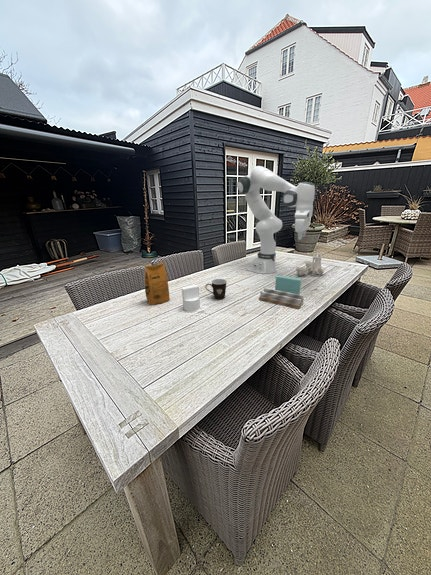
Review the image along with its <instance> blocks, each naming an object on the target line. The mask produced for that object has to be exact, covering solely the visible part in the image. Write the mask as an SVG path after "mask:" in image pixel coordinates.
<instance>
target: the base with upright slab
mask: <svg viewBox="0 0 431 575" xmlns="http://www.w3.org/2000/svg"><path fill="white" fill-rule="evenodd" d="M181 297H182V308H183V310H184V311H186V312H195V311H198V310H200V308H201V301H200V286H199V285H198V284H193V285H192V284H191V285H187V286H183V287H181Z"/></svg>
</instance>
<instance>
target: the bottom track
mask: <svg viewBox="0 0 431 575" xmlns="http://www.w3.org/2000/svg"><path fill="white" fill-rule="evenodd" d="M258 301H261V302H265V303H268V304H274V305H278V306H284V307H287V308H291V309H295V310H300V308H301V306H302V305H303V303H304V301H305V300H304V295H303V294H302V295H301V294H300V295H298V294H293V293H288V292H283V291H278V290H275V289H272V288H267V287H264V288H263V291H262V290H261V291H260V293H259V296H258Z"/></svg>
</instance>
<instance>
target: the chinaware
mask: <svg viewBox="0 0 431 575" xmlns="http://www.w3.org/2000/svg"><path fill="white" fill-rule="evenodd" d="M322 259H323V256H322V255H321V254H320V253H319V252H317V253H316V254H315V255H312V261H307V262H306V261H305V262H304V263H305V267H304V266H301V267H299V266H297V267H296V268H295V270H296V274H298V277H304V276H305V275H306V274H307V273H308V275H309V276H312V277H320V276H321V275H323V273H324V270H323V267H322V263H321V262H322Z"/></svg>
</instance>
